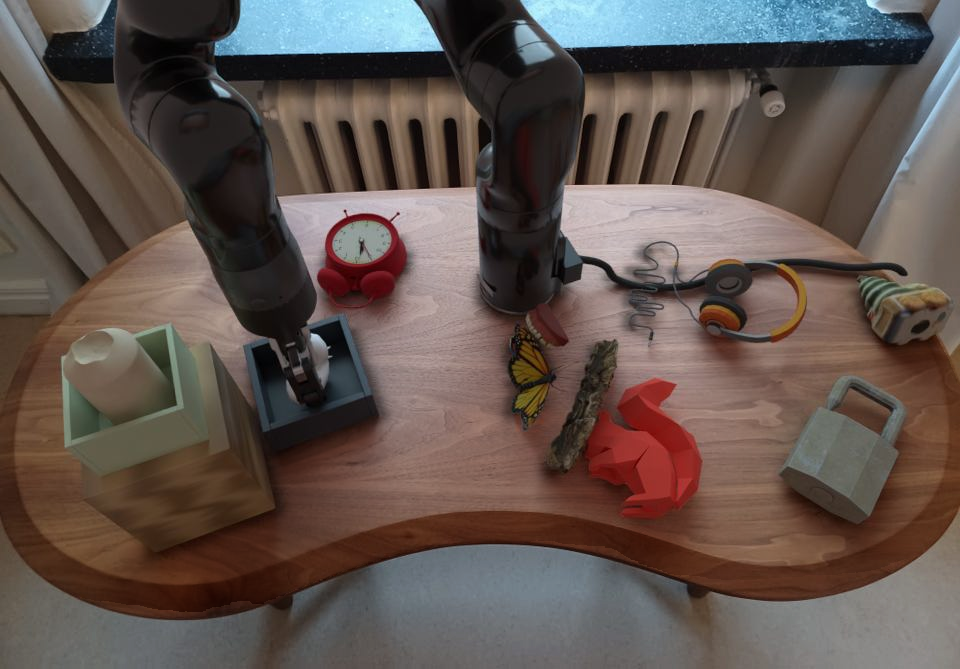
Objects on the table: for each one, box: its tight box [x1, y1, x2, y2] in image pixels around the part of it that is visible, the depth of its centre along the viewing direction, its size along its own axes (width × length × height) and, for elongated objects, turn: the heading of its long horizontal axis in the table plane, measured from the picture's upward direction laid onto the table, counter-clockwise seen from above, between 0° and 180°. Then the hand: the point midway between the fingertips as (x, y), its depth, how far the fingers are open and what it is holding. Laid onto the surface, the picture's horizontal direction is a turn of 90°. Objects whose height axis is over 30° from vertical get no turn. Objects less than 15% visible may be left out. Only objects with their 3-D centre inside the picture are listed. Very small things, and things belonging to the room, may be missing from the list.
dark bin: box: [242, 312, 380, 453], centre depth 74 cm, size 12×12×5 cm
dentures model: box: [508, 303, 570, 370], centre depth 75 cm, size 6×4×8 cm
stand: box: [80, 340, 277, 553], centre depth 65 cm, size 12×12×14 cm
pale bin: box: [60, 322, 209, 477], centre depth 57 cm, size 9×9×6 cm
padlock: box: [777, 375, 908, 525], centre depth 69 cm, size 4×8×15 cm
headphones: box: [628, 240, 808, 348], centre depth 79 cm, size 17×5×20 cm
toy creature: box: [286, 333, 332, 405], centre depth 72 cm, size 5×8×6 cm, turn 173°
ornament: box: [856, 274, 955, 346], centre depth 78 cm, size 8×6×10 cm
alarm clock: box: [316, 208, 408, 310], centre depth 84 cm, size 10×6×15 cm
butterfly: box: [507, 322, 581, 432], centre depth 72 cm, size 12×9×5 cm
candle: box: [63, 327, 177, 426], centre depth 55 cm, size 6×6×10 cm
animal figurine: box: [584, 377, 703, 519], centre depth 69 cm, size 12×15×5 cm
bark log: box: [542, 338, 620, 474], centre depth 71 cm, size 18×5×7 cm, turn 157°
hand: (308, 372), depth 73 cm, fingers closed on toy creature, 7 cm apart
